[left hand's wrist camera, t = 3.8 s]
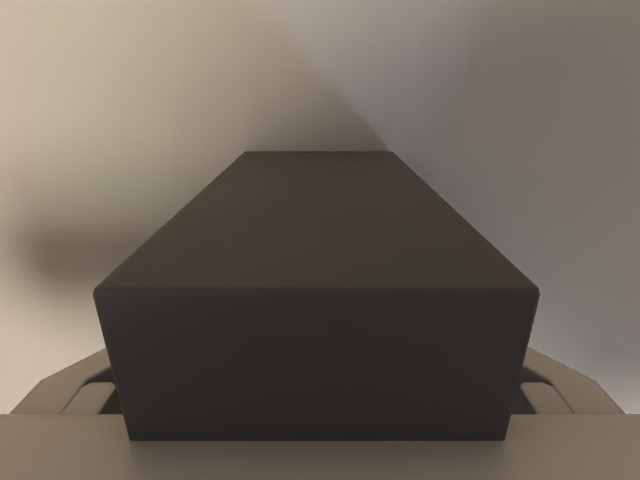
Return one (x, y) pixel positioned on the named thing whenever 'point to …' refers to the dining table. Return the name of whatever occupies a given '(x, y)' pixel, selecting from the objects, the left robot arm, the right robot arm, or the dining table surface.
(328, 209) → the bar
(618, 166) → the dining table surface
